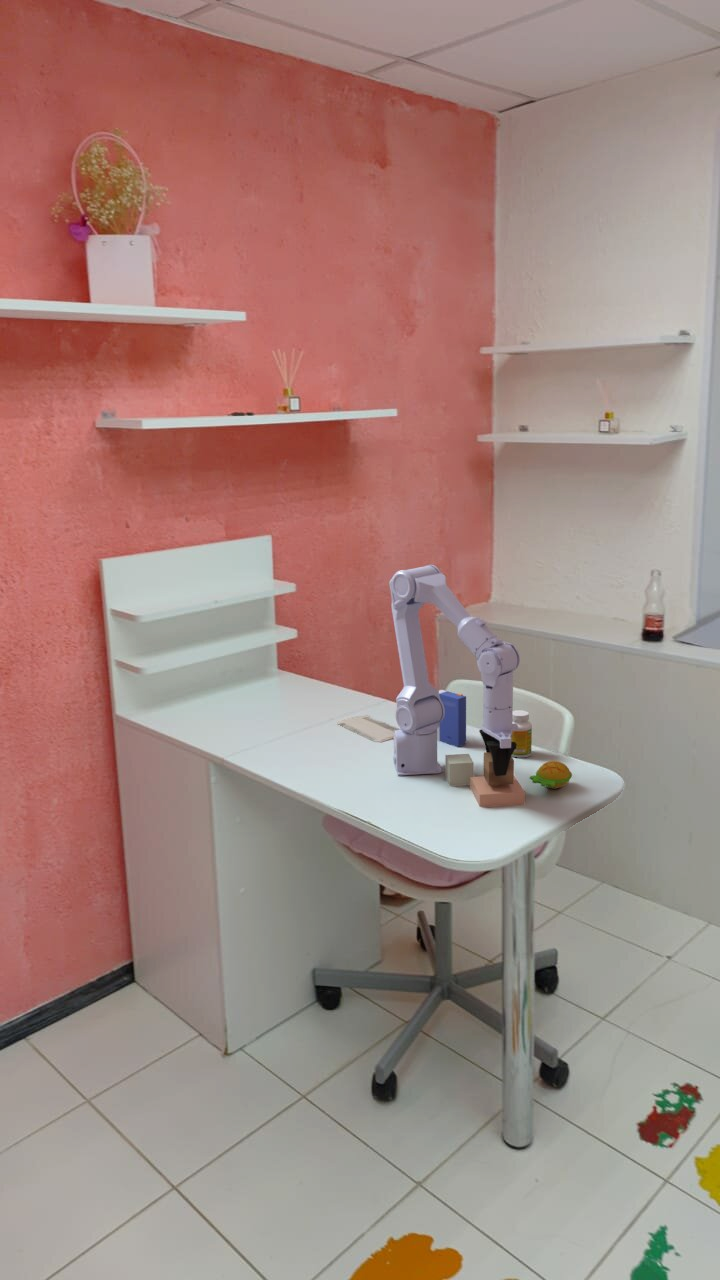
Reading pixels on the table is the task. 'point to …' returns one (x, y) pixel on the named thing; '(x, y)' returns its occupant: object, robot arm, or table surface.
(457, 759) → the sage cube
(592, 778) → the table surface
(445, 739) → the walkman
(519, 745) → the supplement bottle
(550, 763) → the orange green rounded dome
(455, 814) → the table surface
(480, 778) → the tile block
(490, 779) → the walnut cube
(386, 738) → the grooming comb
